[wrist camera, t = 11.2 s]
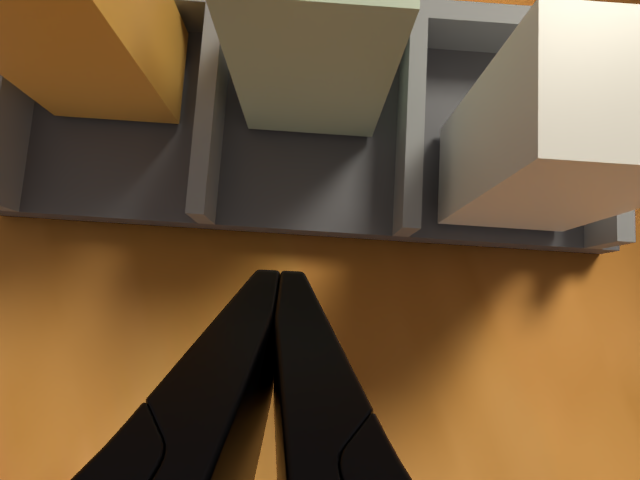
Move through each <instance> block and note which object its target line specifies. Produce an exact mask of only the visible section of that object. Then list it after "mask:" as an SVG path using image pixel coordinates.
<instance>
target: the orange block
mask: <svg viewBox="0 0 640 480" xmlns="http://www.w3.org/2000/svg"><path fill="white" fill-rule="evenodd" d="M187 44H188V31H187V29H186V27H185V24H184V22H183V20H182V18H181V15H180V13H179V11H178V8H177V6H176V4H175V2H174V0H0V75H1V76H3V77H4V78H5V79H7V80H8V81H9V82H11V83H12V84H13V85H15V86H16V87H17V88H19V89H20V90H21V91H22V92H24V93H25V94H26V95H28V96H29V97H30V98H32V99H33V100H34V101H36V102H37V103H38V104H40V105H41V106H42V107H44V108H45V109H46V110H48V111H49V112H50V113H52V114H53V115H54V116H67V117H81V118H96V119H111V120H126V121H141V122H156V123H171V124H179V122H180V112H181V103H182V93H183V83H184V73H185V64H186V54H187Z"/></svg>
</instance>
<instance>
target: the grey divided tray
mask: <svg viewBox="0 0 640 480" xmlns="http://www.w3.org/2000/svg"><path fill="white" fill-rule="evenodd" d="M174 2H175V4H176V6H177V8H178V11H179V13H180V15H181V18H182V20H183V22H184V24H185V27H186V29H187V31H188V44H187V54H186V64H185V73H184V83H183V93H182V103H181V112H180V122H179V124H171V123H156V122H141V121H126V120H111V119H96V118H81V117H67V116H54V115H53V114H52V113H50V112H49V111H48V110H46V109H45V108H44V107H42V106H41V105H40V104H38V103H37V102H36V101H34V100H33V99H32V98H30V97H29V96H28V95H26V94H25V93H24V92H22V91H21V90H20V89H19V88H17V87H16V86H15V85H13V84H12V83H11V82H9V81H8V80H7V79H5V78H4V77H3V76H1V75H0V215H2V216H16V217H32V218H47V219H63V220H78V221H94V222H110V223H125V224H141V225H156V226H172V227H188V228H203V229H219V230H234V231H250V232H266V233H281V234H297V235H312V236H328V237H344V238H359V239H375V240H390V241H406V242H422V243H437V244H453V245H468V246H484V247H500V248H515V249H531V250H546V251H562V252H578V253H593V254H603V253H609V252H614V251H619V245H624V244H629V243H634V242H636V237H635V210H633V211H629V212H626V213H623V214H619V215H616V216H613V217H609V218H606V219H603V220H599V221H596V222H593V223H589V224H586V225H583V226H579V227H576V228H573V229H569V230H566V231H563V232H561V231H545V230H530V229H514V228H499V227H483V226H468V225H452V224H437V223H438V190H439V158H440V129H441V128H442V127H443V125H444V124H445V123H446V121H447V120H448V119H449V117H450V116H451V114H452V113H453V112H454V110H455V109H456V108H457V106H458V105H459V104H460V102H461V101H462V100H463V98H464V97H465V96H466V94H467V93H468V92H469V90H470V89H471V88H472V86H473V85H474V84H475V82H476V81H477V79H478V78H479V77H480V75H481V74H482V73H483V71H484V70H485V69H486V67H487V66H488V65H489V63H490V62H491V61H492V59H493V58H494V57H495V55H496V54H497V53H498V51H499V50H500V48H501V47H502V46H503V44H504V43H505V42H506V40H507V39H508V38H509V36H510V35H511V34H512V32H513V31H514V30H515V28H516V27H517V26H518V24H519V23H520V22H521V20H522V19H523V18H524V16H525V15H526V13H527V12H528V11H529V9H530V8H531V7H532V6H524V5H510V4H496V3H482V2H468V1H454V0H420V10H419V12H418V15H417V18H416V20H415V23H414V26H413V28H412V31H411V34H410V36H409V39H408V42H407V44H406V47H405V50H404V53H403V55H402V58H401V61H400V63H399V66H398V69H397V71H396V74H395V77H394V79H393V82H392V85H391V87H390V90H389V93H388V95H387V98H386V101H385V103H384V106H383V109H382V111H381V114H380V117H379V119H378V122H377V125H376V127H375V130H374V133H373V135H372V137H364V136H349V135H334V134H319V133H304V132H290V131H275V130H260V129H248V126H247V123H246V120H245V117H244V114H243V111H242V108H241V105H240V102H239V99H238V96H237V93H236V90H235V87H234V84H233V81H232V78H231V75H230V72H229V69H228V66H227V63H226V60H225V57H224V54H223V51H222V48H221V45H220V42H219V39H218V36H217V33H216V30H215V27H214V24H213V21H212V18H211V15H210V12H209V9H208V6H207V3H206V0H174Z"/></svg>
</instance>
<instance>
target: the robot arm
mask: <svg viewBox="0 0 640 480" xmlns="http://www.w3.org/2000/svg"><path fill="white" fill-rule="evenodd" d="M273 384H274V419H275V441H276V464H277V480H412V479H411V477H410V476H409V474H408V472H407V471H406V469H405V468H404V466H403V464H402V463H401V461H400V459H399V457H398V456H397V454H396V452H395V450H394V448H393V447H392V445H391V443H390V441H389V439H388V437H387V436H386V434H385V432H384V430H383V428H382V426H381V424H380V422H379V420H378V418H377V416H376V414H374V413H373V409H372V407H371V405H370V403H369V401H368V399H367V397H366V395H365V393H364V391H363V389H362V387H361V385H360V383H359V381H358V379H357V377H356V375H355V373H354V371H353V369H352V367H351V365H350V363H349V361H348V359H347V357H346V355H345V353H344V351H343V349H342V347H341V345H340V343H339V341H338V339H337V337H336V335H335V333H334V331H333V329H332V327H331V325H330V323H329V321H328V319H327V317H326V315H325V313H324V311H323V309H322V307H321V305H320V303H319V301H318V300H317V298H316V296H315V294H314V292H313V290H312V288H311V286H310V284H309V282H308V280H307V278H306V276H305V274H304V273H303V272H296V271H283V272H281V274H280V273H279V272H278V271H276V270H257V271H256V272H255V273H254V274H253V275H252V276H251V277H250V278H249V280H248V281H247V282H246V283H245V284H244V285H243V287H242V288H241V289H240V290H239V291H238V292H237V294H236V295H235V296H234V297H233V298H232V299H231V301H230V302H229V303H228V304H227V305H226V306H225V308H224V309H223V310H222V311H221V312H220V313H219V315H218V316H217V317H216V318H215V319H214V320H213V322H212V323H211V324H210V325H209V326H208V327H207V329H206V330H205V331H204V332H203V333H202V334H201V336H200V337H199V338H198V339H197V340H196V341H195V343H194V344H193V345H192V346H191V347H190V348H189V350H188V351H187V352H186V353H185V354H184V355H183V357H182V358H181V359H180V360H179V361H178V362H177V364H176V365H175V366H174V367H173V368H172V369H171V371H170V372H169V373H168V374H167V375H166V376H165V378H164V379H163V380H162V381H161V382H160V383H159V385H158V386H157V387H156V388H155V389H154V390H153V392H152V393H151V394H150V395H149V396H148V397H147V399H146V403H142V404H141V405H140V406H139V408H138V409H137V410H136V411H135V412H134V414H133V415H132V416H131V417H130V418H129V419H128V421H127V422H126V423H125V424H124V425H123V426H122V427H121V428H120V429H119V431H118V432H117V433H116V434H115V435H114V436H113V437H112V438H111V439H110V440H109V442H108V443H107V444H106V445H105V446H104V447H103V448H102V449H101V450H100V451H99V452H98V453H97V454H96V455H95V456H94V457H93V458H92V459H91V460H90V461H89V462H88V463H87V464H86V465H85V466H84V467H83V468H82V469H81V470H80V471H79V472H78V473H77V474H76V475H75V476H74V477H73V478H72V479H71V480H254V478H255V473H256V469H257V464H258V459H259V455H260V450H261V445H262V441H263V436H264V431H265V427H266V422H267V417H268V413H269V408H270V403H271V398H272V392H273Z"/></svg>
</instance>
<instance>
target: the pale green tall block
mask: <svg viewBox="0 0 640 480" xmlns="http://www.w3.org/2000/svg"><path fill="white" fill-rule="evenodd" d="M206 3H207V6H208V9H209V12H210V15H211V18H212V21H213V24H214V27H215V30H216V33H217V36H218V39H219V42H220V45H221V48H222V51H223V54H224V57H225V60H226V63H227V66H228V69H229V72H230V75H231V78H232V81H233V84H234V87H235V90H236V93H237V96H238V99H239V102H240V105H241V108H242V111H243V114H244V117H245V120H246V123H247V126H248V129H260V130H275V131H290V132H304V133H319V134H334V135H349V136H364V137H372V135H373V133H374V130H375V127H376V125H377V122H378V119H379V117H380V114H381V111H382V109H383V106H384V103H385V101H386V98H387V95H388V93H389V90H390V87H391V85H392V82H393V79H394V77H395V74H396V71H397V69H398V66H399V63H400V61H401V58H402V55H403V53H404V50H405V47H406V44H407V42H408V39H409V36H410V34H411V31H412V28H413V26H414V23H415V20H416V18H417V15H418V12H419V10H420V0H206Z"/></svg>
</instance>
